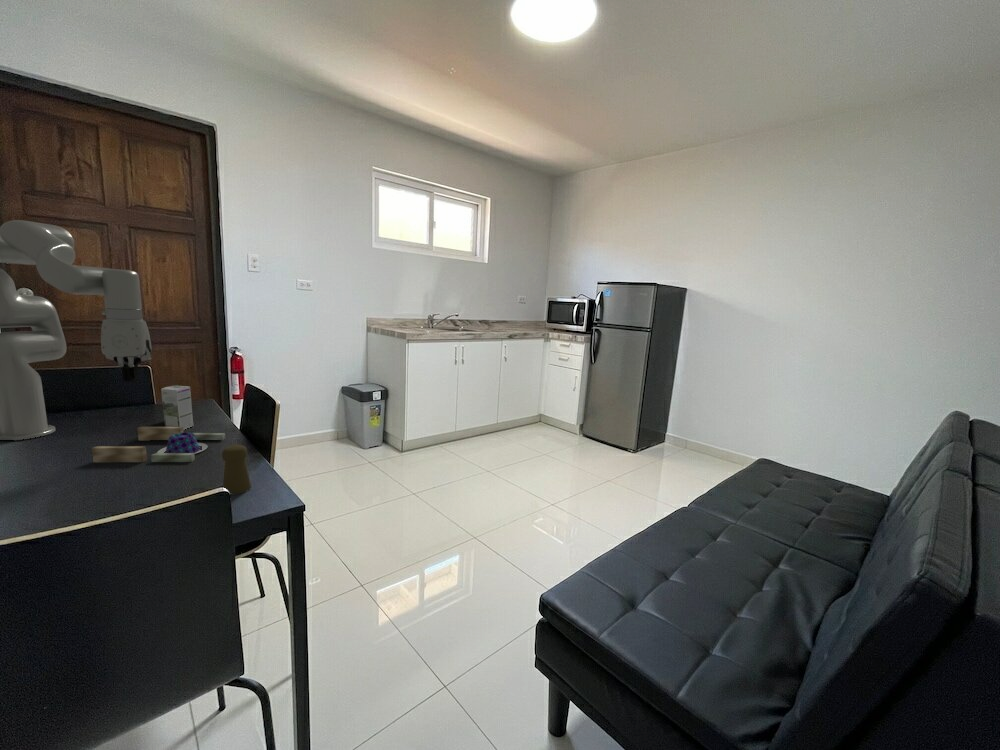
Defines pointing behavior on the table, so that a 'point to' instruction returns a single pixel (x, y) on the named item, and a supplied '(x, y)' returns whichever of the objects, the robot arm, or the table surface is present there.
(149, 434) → the channel
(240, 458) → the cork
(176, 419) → the syrup box
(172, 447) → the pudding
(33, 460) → the table surface
